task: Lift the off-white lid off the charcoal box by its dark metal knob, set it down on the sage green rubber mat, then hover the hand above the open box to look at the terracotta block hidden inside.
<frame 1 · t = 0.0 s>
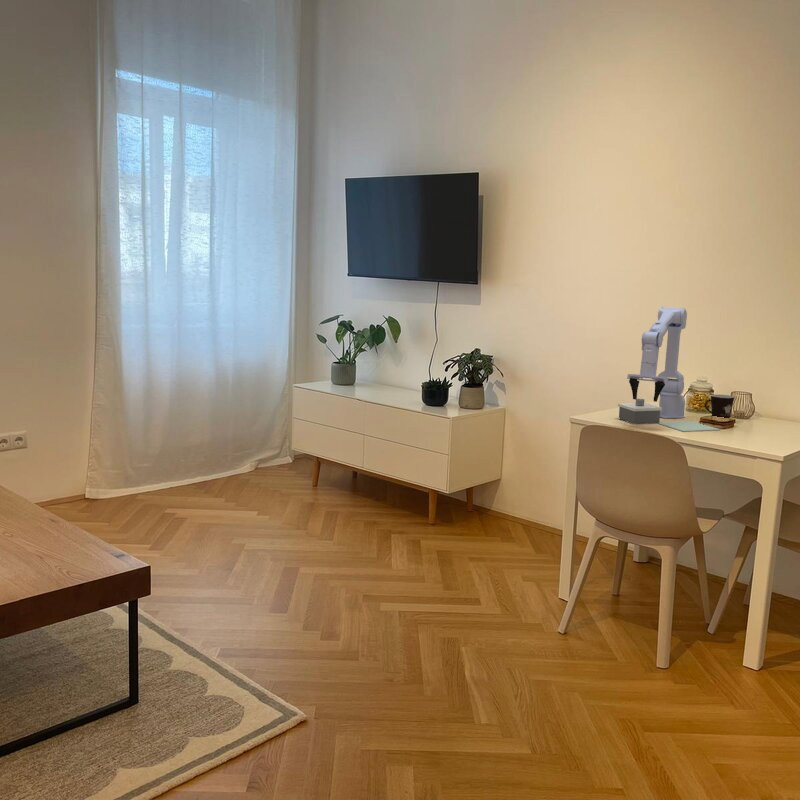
hand: (644, 400, 309), 11 cm above the table, fingers open, 7 cm apart
coffee mug: (716, 421, 329), on the table
box: (638, 420, 326), on the table
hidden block: (638, 421, 326), resting in box
mat: (688, 427, 315), on the table
lid: (639, 408, 325), point 5 cm above the table, touching box
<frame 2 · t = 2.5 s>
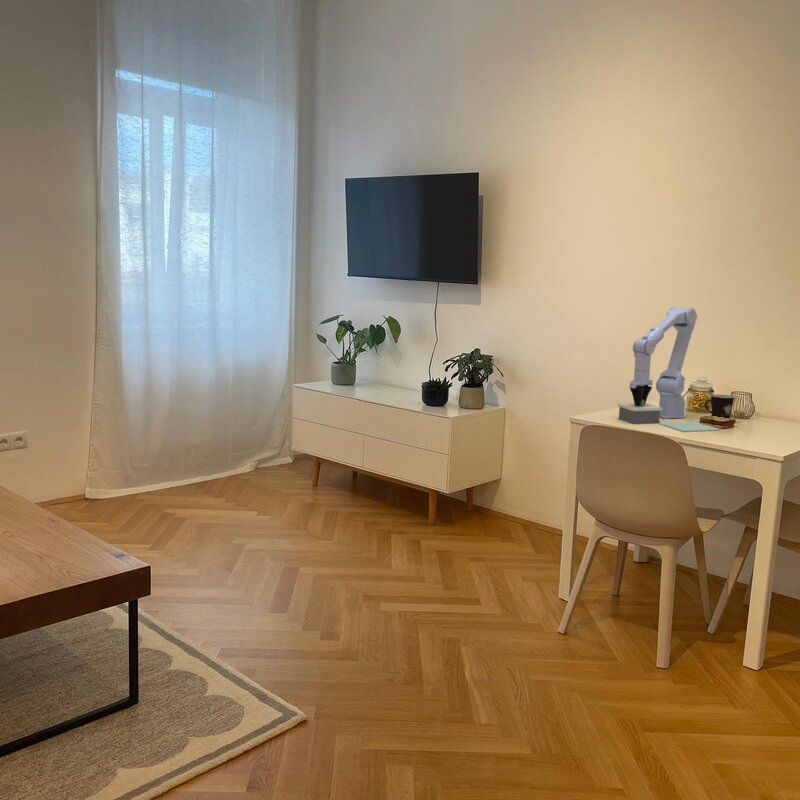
hand: (639, 404, 325), 6 cm above the table, fingers closed on lid, 3 cm apart
lid: (639, 408, 325), point 5 cm above the table, touching box, gripper
everything else where it was.
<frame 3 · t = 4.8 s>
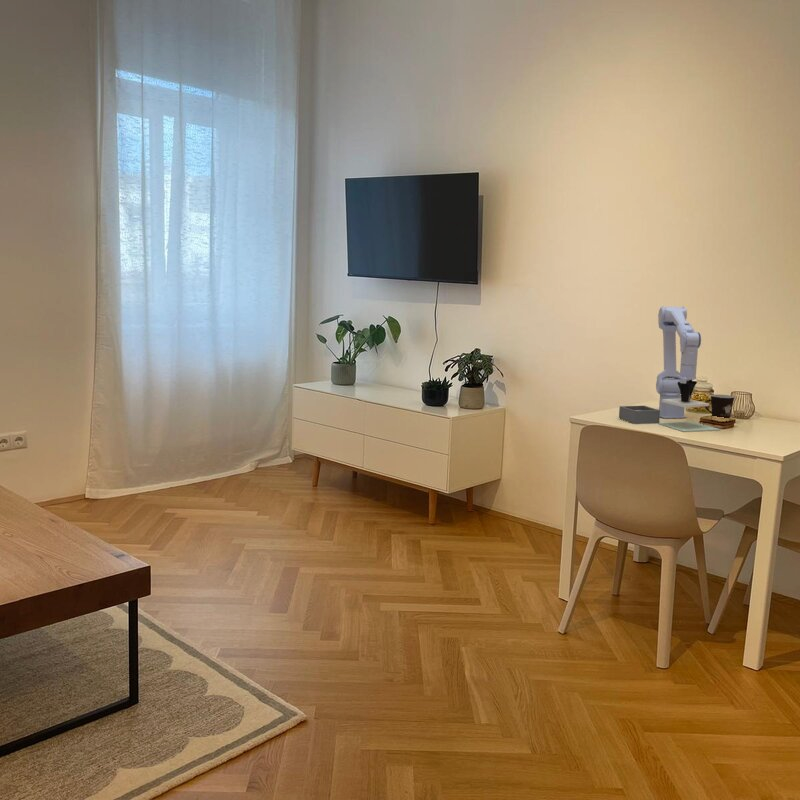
hand: (685, 400, 314), 10 cm above the table, fingers closed on lid, 3 cm apart
lid: (685, 404, 315), point 9 cm above the table, touching gripper
everything else where it was.
when the fingers open (3 cm above the table, at t = 7.1 s): lid stays where it is, resting on mat.
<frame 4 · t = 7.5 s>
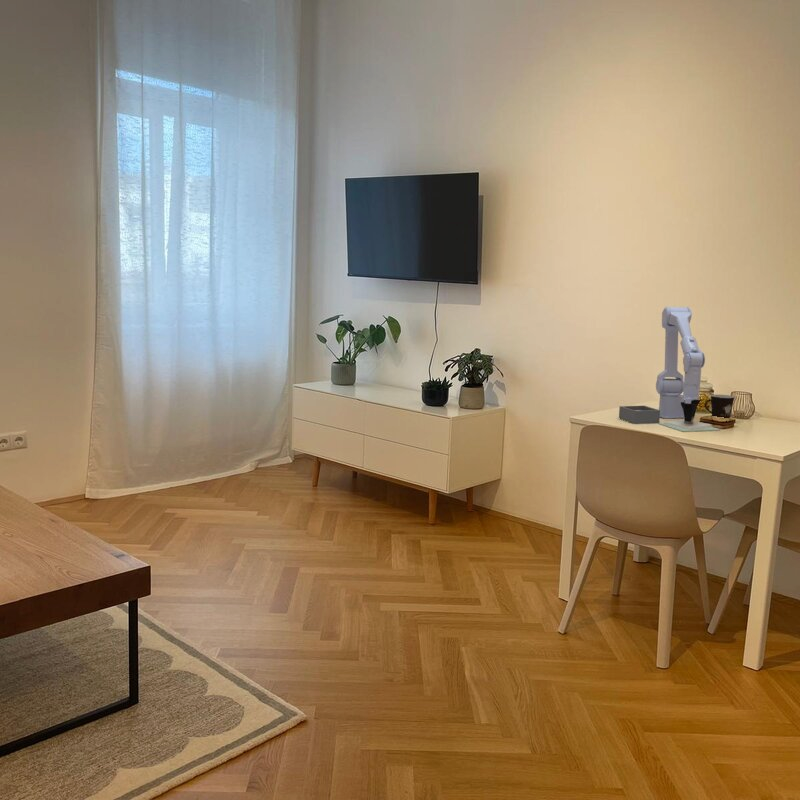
hand: (689, 420, 315), 3 cm above the table, fingers open, 6 cm apart
lid: (688, 425, 315), resting on mat
everything else where it was.
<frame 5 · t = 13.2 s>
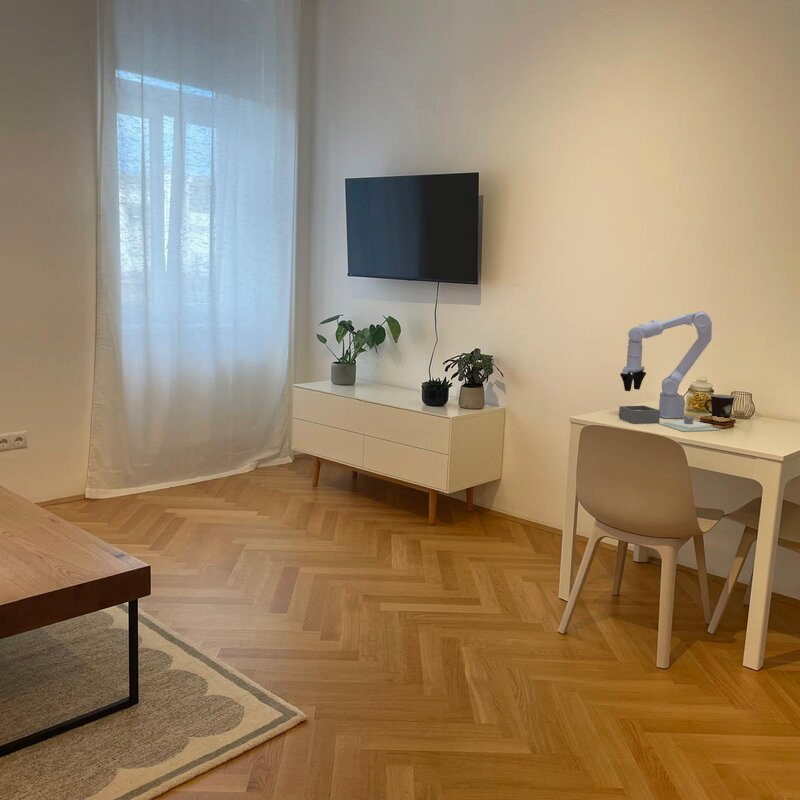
hand: (632, 390, 339), 10 cm above the table, fingers open, 7 cm apart
nothing on the table moved.
at the end: lid inside the target area on the mat (0.2 cm from its centre), point 0.4 cm above the mat's base; lid tilted 0°; lid touching mat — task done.
